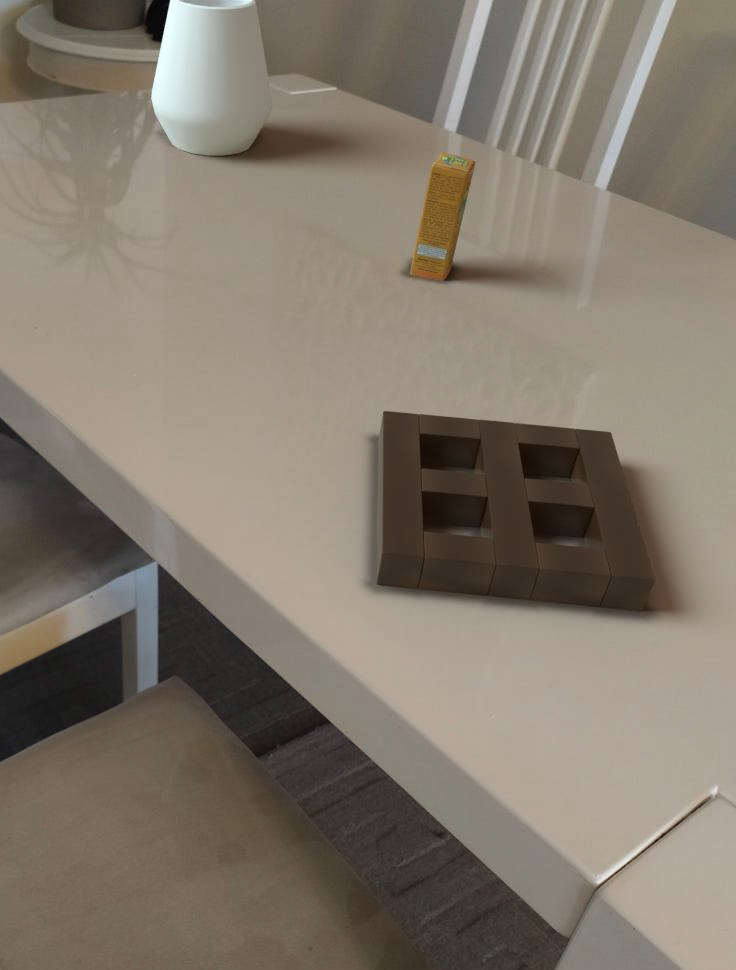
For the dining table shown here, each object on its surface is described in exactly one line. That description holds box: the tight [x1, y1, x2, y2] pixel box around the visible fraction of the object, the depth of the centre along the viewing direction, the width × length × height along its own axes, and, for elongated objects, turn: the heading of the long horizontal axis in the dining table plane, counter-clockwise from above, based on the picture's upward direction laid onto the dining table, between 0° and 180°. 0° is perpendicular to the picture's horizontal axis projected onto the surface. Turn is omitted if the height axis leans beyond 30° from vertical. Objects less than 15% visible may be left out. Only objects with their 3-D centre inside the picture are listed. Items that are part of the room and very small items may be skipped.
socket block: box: [375, 410, 656, 612], centre depth 61 cm, size 15×15×3 cm
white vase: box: [150, 0, 273, 157], centre depth 106 cm, size 13×13×14 cm
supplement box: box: [409, 152, 476, 282], centre depth 84 cm, size 3×3×10 cm
